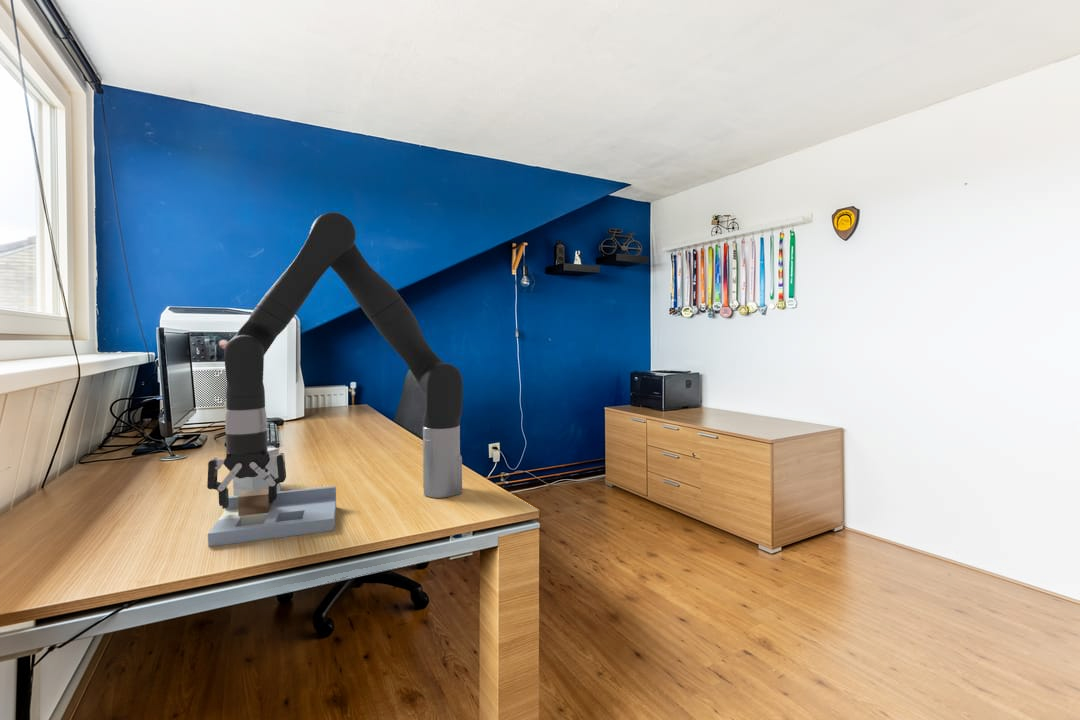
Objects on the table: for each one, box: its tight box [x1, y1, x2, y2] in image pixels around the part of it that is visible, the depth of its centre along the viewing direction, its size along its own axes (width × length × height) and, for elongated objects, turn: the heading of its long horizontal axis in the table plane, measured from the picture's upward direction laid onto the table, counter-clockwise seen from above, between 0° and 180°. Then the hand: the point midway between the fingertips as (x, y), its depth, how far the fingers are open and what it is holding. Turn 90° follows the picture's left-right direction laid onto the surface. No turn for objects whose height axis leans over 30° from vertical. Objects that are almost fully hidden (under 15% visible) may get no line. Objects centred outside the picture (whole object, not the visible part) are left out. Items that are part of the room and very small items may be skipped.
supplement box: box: [232, 447, 281, 496], centre depth 119 cm, size 7×7×13 cm
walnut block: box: [238, 489, 272, 516], centre depth 105 cm, size 6×4×4 cm
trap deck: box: [207, 485, 337, 547], centre depth 104 cm, size 22×15×5 cm
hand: (248, 504), depth 105 cm, fingers open, 8 cm apart
